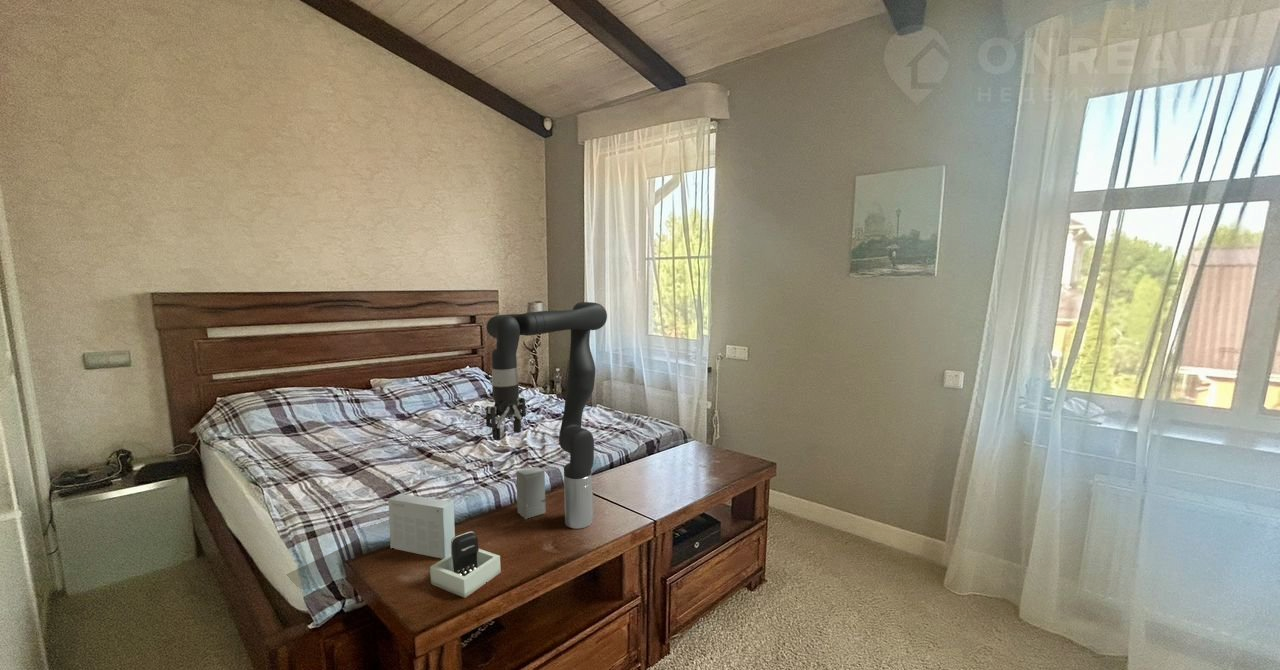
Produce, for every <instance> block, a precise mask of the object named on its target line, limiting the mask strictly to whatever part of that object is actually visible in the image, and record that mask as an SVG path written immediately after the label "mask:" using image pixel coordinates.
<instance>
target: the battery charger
mask: <svg viewBox="0 0 1280 670" xmlns="http://www.w3.org/2000/svg"><path fill="white" fill-rule="evenodd" d="M479 549H480V548H479V538H478V536H477V534H476V533H475V532H474V531H471V530H470V531H467V532H466V531H465V532H464V533H460V534H457V535H455V537H454V538H453V539H452V540H451V558H452V568H453V572H454V573H457V574H459V575H462V576H466V575H467V574H469V573H470V572H472V571H473V570H475V569H476V568H478V564H477V552H478V551H479Z"/></svg>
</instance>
